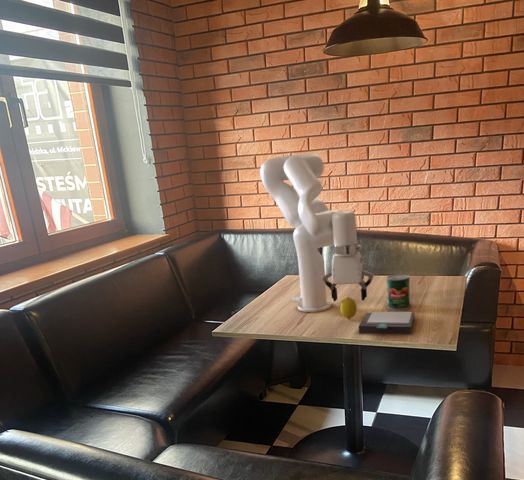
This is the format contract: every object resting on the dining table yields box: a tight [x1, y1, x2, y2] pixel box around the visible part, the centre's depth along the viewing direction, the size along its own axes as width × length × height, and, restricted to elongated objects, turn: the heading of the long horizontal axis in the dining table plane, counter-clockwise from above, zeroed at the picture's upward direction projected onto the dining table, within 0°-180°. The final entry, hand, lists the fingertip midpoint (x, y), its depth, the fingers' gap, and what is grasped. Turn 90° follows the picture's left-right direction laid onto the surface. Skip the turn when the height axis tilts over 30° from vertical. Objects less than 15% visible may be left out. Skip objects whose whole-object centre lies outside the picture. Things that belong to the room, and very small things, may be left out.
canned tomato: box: [386, 273, 411, 311], centre depth 191 cm, size 8×8×11 cm
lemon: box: [339, 296, 358, 320], centre depth 184 cm, size 6×6×8 cm
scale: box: [358, 311, 416, 335], centre depth 173 cm, size 16×16×3 cm
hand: (349, 299), depth 182 cm, fingers open, 9 cm apart
